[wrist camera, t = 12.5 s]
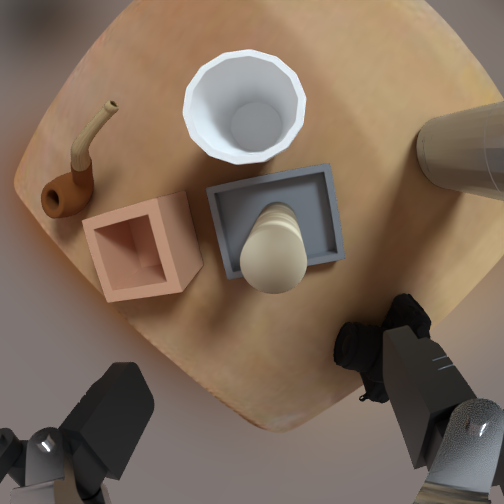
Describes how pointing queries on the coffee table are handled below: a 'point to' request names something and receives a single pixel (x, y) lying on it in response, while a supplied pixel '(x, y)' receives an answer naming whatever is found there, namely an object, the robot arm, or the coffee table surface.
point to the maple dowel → (274, 251)
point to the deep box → (145, 248)
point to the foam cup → (244, 107)
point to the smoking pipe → (76, 172)
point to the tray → (287, 191)
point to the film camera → (377, 344)
